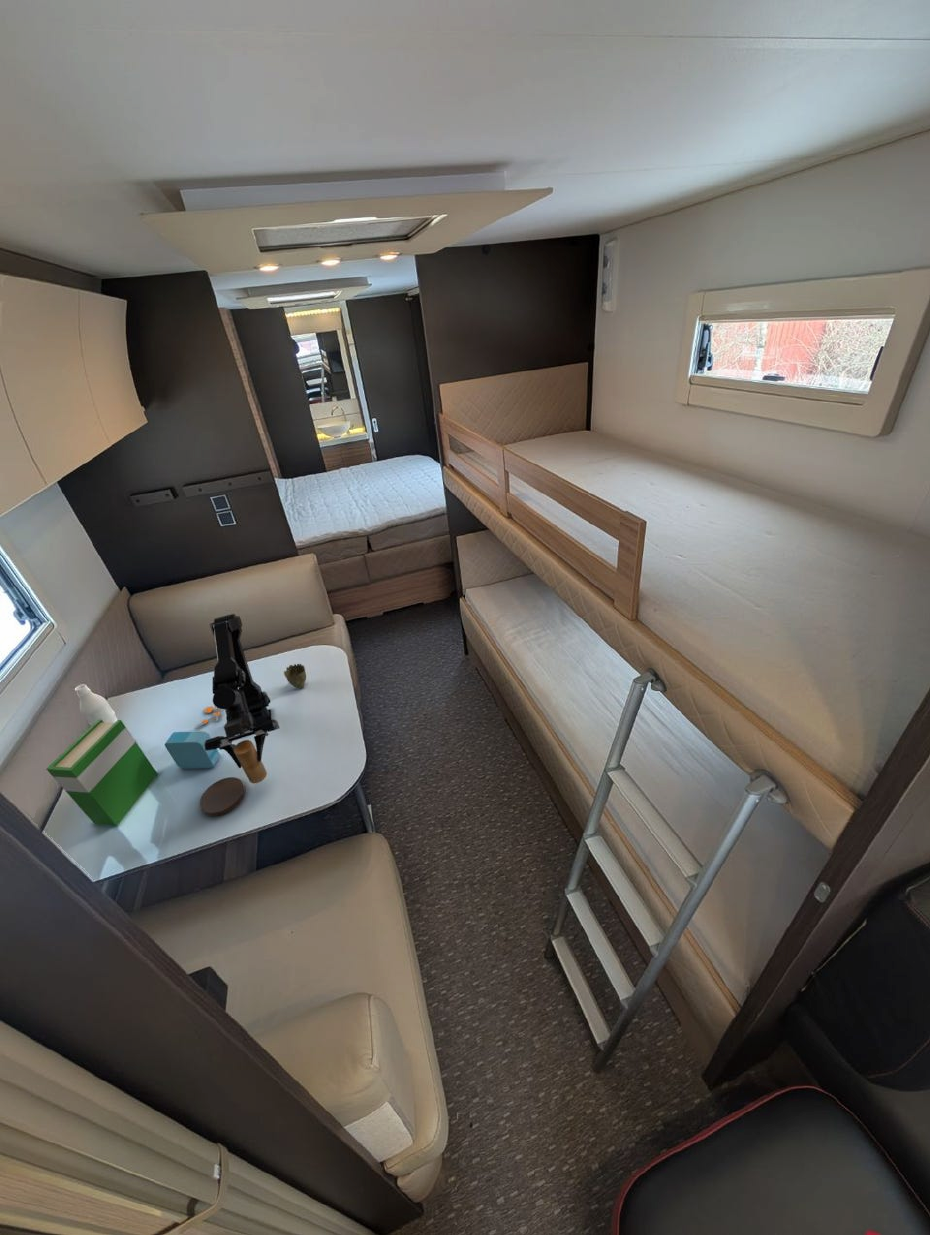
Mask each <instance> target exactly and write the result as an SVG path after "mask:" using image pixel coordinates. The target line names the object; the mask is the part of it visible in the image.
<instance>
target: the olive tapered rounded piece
mask: <svg viewBox="0 0 930 1235" xmlns="http://www.w3.org/2000/svg"><path fill="white" fill-rule="evenodd" d="M285 669H286V670H284V671H283V675H284V677H285V678H286V680H287V682H288V683H289V684H290V685H291V686H293V687H294V688H295V689H302V688H304V687H305V683H306V681H307V673H306V668H305V665H304V664H302V663H297V664H296V663H294V664H293V665H292V664H289V665H288V666H287V667H286V668H285Z"/></svg>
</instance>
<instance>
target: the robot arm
mask: <svg viewBox="0 0 930 1235" xmlns="http://www.w3.org/2000/svg"><path fill="white" fill-rule="evenodd" d="M209 627H210V628H209V629H210V630H211V633H212V635H213V636H214V641H215V649H216V657H217V658H216V659H217V663H216V664H215V666H214V667H213V676H212V694H213V696H212V703H213V705H214V707H215V706H216V707H215V708H216V709H218V708H219V709H220V710H224V712H225V719H226V722H225V725H224V726H223V730H224V732H225V735H226V736H224V735H218V736H215V737H211V739H208V740H206V741H205V743H204V746H205V750H206V751H208V750H214V749H217V750H218V749H219V751H221V750H224V751H225V752H226V753H227V754H228V755H229V757H231V759H232V760H233V761H234V763H235V764H236V766H237V767H238V769H242V766H241V764H240V762H239V761H238V759H237V757H236V755H235V753H234V747H235V746H236V745H237V744H236V743H233V742H235V741H237V740H241V739H243V738H247V737H250V736H253V739H254V742H255V749H256V751H257V756H258V760H259V762H260V761H262V757H263V750H264V744H265V741H266V737H267V736H269V735H270V734H269V732H272V731H276V730H279V729H280V725H279V721H278V720H277V719H274V718H273V719H272V709H268V707H269V706H270V703H271V702H272V701H271V698H270V697H269V695H268V693H267V692H265V691H263V690H262V687H261V686H260V684H258V683H256V682H255V681H254V679H253V676H252V673H251V670H250V668H249V663H248V661H247V658H246V654H245V652H244V649H243V645H242V642H241V637H242V634H243V629H242V628H243V622H242V619H241V617H240V615H236V614H235V613H231V614H227V615H223V616H220V617H216V618H214V619H213V622H211V623H210V624H209Z"/></svg>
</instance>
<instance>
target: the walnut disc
mask: <svg viewBox="0 0 930 1235" xmlns="http://www.w3.org/2000/svg"><path fill="white" fill-rule="evenodd" d="M246 793H247V792H246V787H245V784H244V783H243V781H242V780H241V779H240V778H237V777H233V776H232V777H231V776H229V777H225V778H221V779H219V780H216V781H215V782H213V783H212V784H210V785H209V786H208V787H207V788H206V789H205V790H204V792H203V793H202V795H200V796H201V797H200V799H199V807H200V810H201V811H202V812H203V814H205V816H207V817H211V818H219V817H223V816H226V815H228V814H230V813H231V812H233V811H234V810H235V809H236V808H238V807H239V806H240V805H241V804H242V802H243V801H244V799H245V796H246Z"/></svg>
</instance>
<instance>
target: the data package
mask: <svg viewBox="0 0 930 1235" xmlns="http://www.w3.org/2000/svg"><path fill="white" fill-rule="evenodd" d="M211 738H212V737H211V735H210V734H209V733H208V732H207V731H203V730H200V731H198V730H197V731H174V732H172V733H171V735H170V736H169V737H168V739H167V740H166V742H165V743H164V748H165V749H166V750H167V752H168V753H169V755H170V756H171V758H172V760H173V761H174V763H175V764H176V766H177V767H178V768H179V769H183V770H185V769H187V770H188V769H212V768H214V767H215V765H216V763H217V762H218V760H219V758H220V756H221V754H220V752H219V750H218V748H217V749H214V750H208V751H206V750H205V746H204V743H205V741H206V740H208V739H211Z"/></svg>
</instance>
